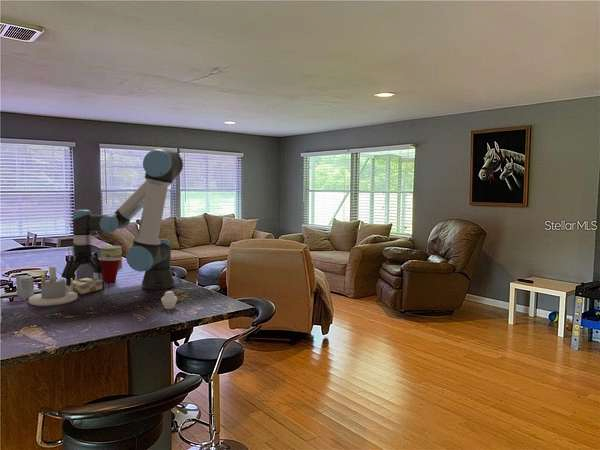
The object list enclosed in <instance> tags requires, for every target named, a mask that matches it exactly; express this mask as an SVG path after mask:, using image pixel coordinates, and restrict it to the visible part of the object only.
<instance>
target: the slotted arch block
mask: <svg viewBox="0 0 600 450" xmlns="http://www.w3.org/2000/svg"><path fill="white" fill-rule="evenodd" d="M103 283H104V282H103V279H99V280H97V279H93V278H89V277H84V278H83V277H82V278H80V279H79V278H78V279H77V280H74V279H73V292H75V293H77V294H81V295H83V294H87V293H92V292H96V291H99V290H102V289H103ZM65 291H68V287H67V286H66V281H65Z"/></svg>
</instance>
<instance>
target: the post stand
mask: <svg viewBox="0 0 600 450" xmlns="http://www.w3.org/2000/svg"><path fill="white" fill-rule="evenodd" d="M48 268H49V269H48V272H49V276H48V277H49V279H46V275H45V274H41V282H40V293H38V294H34V295H33V296H31V297H29V298H28V299H27V301H28V304H29V305H32V306H39V307H43V306H44V307H45V306H46V307H47V306H48V307H49V306H56V305H57V306H59V305H63V304H69V303H72V302H74V301H76V300H77V299H78V294H79V293H75V292H70V291H65V282H66V279H65V278H57V267H56V266H55V265H54V266H49V267H48Z"/></svg>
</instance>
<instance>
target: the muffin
mask: <svg viewBox="0 0 600 450" xmlns="http://www.w3.org/2000/svg"><path fill="white" fill-rule="evenodd" d="M174 293H175V292H174V291H172V290H168V291H165V292H164V295H163V296H162V297H161V298H160V300H161V304H162V305H163V307H164V308H165V309H166V310H172V309H174V307H175V305H176V303H177V301H178V296H176V295H175V294H174Z"/></svg>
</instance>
